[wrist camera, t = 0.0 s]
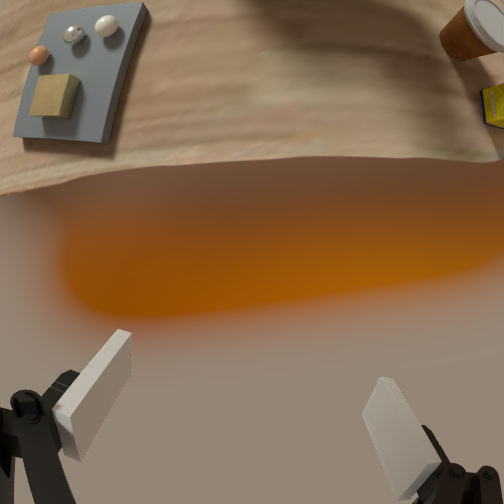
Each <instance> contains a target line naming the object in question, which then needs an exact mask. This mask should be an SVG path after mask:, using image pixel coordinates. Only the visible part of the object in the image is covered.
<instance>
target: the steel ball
mask: <svg viewBox="0 0 504 504" xmlns="http://www.w3.org/2000/svg"><path fill="white" fill-rule="evenodd" d="M84 36H85V30H84V28H83V27H82V26H81V25H78V24H74V25H71V26H69V27H68V28H67V29H66V30H65V32H64V34H63V40H64V42H65V43H66V44H68V45H76V44H78V43H80V42H81V41H82V39H83V38H84Z"/></svg>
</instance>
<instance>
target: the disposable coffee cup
mask: <svg viewBox="0 0 504 504" xmlns="http://www.w3.org/2000/svg"><path fill="white" fill-rule="evenodd" d="M440 40H441V43H442V46H443V47H444V49H445V50H446V52H447V53H448V54H449V55H450V56H452V57H453V58H455V59H457V60H460V61H464V60H467V59H471V58H475V57H479V56H484V55H488V54H492V53H497V52H501V53H504V11H503V10H502V9H501V8H500V7H499V6H498V5H497V4H496V3H495V2H494V1H492V0H466V1H465V5H464V6H463V7H462V8H461V10H460V11H459V12H458V13H457V14H456V15H455V16H454V17H453V18H452V19H451V21H450V22H449V23H448V24H447V25H446V26H445V27H444V28H443V29H442V30H441V32H440Z"/></svg>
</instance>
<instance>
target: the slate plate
mask: <svg viewBox="0 0 504 504" xmlns="http://www.w3.org/2000/svg"><path fill="white" fill-rule="evenodd" d="M147 11H148V9H147V8H146V6H145V5H144V3H125V4H113V5H103V6H95V7H87V8H80V9H74V10H68V11H63V12H58V13H53V14H50V16H49V19H48V21H47V23H46V26H45V28H44V31H43V33H42V36H41V38H40V41H39V44H38V46H45V47H47V48H48V50H49V58H48V60H47V61H46V62H45V63H44V64H42V65H40V66H34V65H32V64H31V67H30V70H29V73H28V76H27V80H26V83H25V87H24V90H23V94H22V98H21V102H20V106H19V110H18V115H17V119H16V124H15V129H14V134H13V137H21V138H40V139H56V140H70V141H82V142H93V143H103V144H109V140H110V135H111V131H112V126H113V122H114V117H115V113H116V109H117V105H118V101H119V97H120V93H121V90H122V86H123V82H124V79H125V75H126V72H127V69H128V65H129V62H130V59H131V56H132V53H133V50H134V47H135V44H136V41H137V38H138V35H139V32H140V29H141V27H142V24H143V21H144V19H145V16H146V13H147ZM106 15H111V16H114V17H115V18H116V19H117V20H118V28H117V30H116V32H115V33H114V34H112V35H111V36H108V37H101V36H99V35H98V34H97V33H96V32H95V24H96V22H97V21H98V20H99V19H100V18H101V17H103V16H106ZM74 24H78V25H81V26H82V27H83V28H84V30H85V36H84V38H83V39H82V41H81V42H80V43H78V44H76V45H68V44H66V43H65V42H64V40H63V34H64V32H65V30H66V29H67V28H68V27H69V26H71V25H74ZM55 74H71V75H73V76H75V77H77V78H79V79H80V81H79V85H78V88H77V92H76V96H75V100H74V103H73V108H72V112H71V116H70V119H65V118H38V117H33V116H29V112H30V108H31V103H32V99H33V96H34V92H35V88H36V85H37V81H38V78H39V76H43V75H55Z"/></svg>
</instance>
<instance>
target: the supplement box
mask: <svg viewBox="0 0 504 504" xmlns="http://www.w3.org/2000/svg"><path fill="white" fill-rule="evenodd" d="M480 94H481V101H482V109H483V118H484V123H485V124H488V125H492V126H496V127H499V128H503V129H504V83H503V84H500V85H497V86H494V87H490V88H487V89H484V90H481V91H480Z"/></svg>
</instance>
